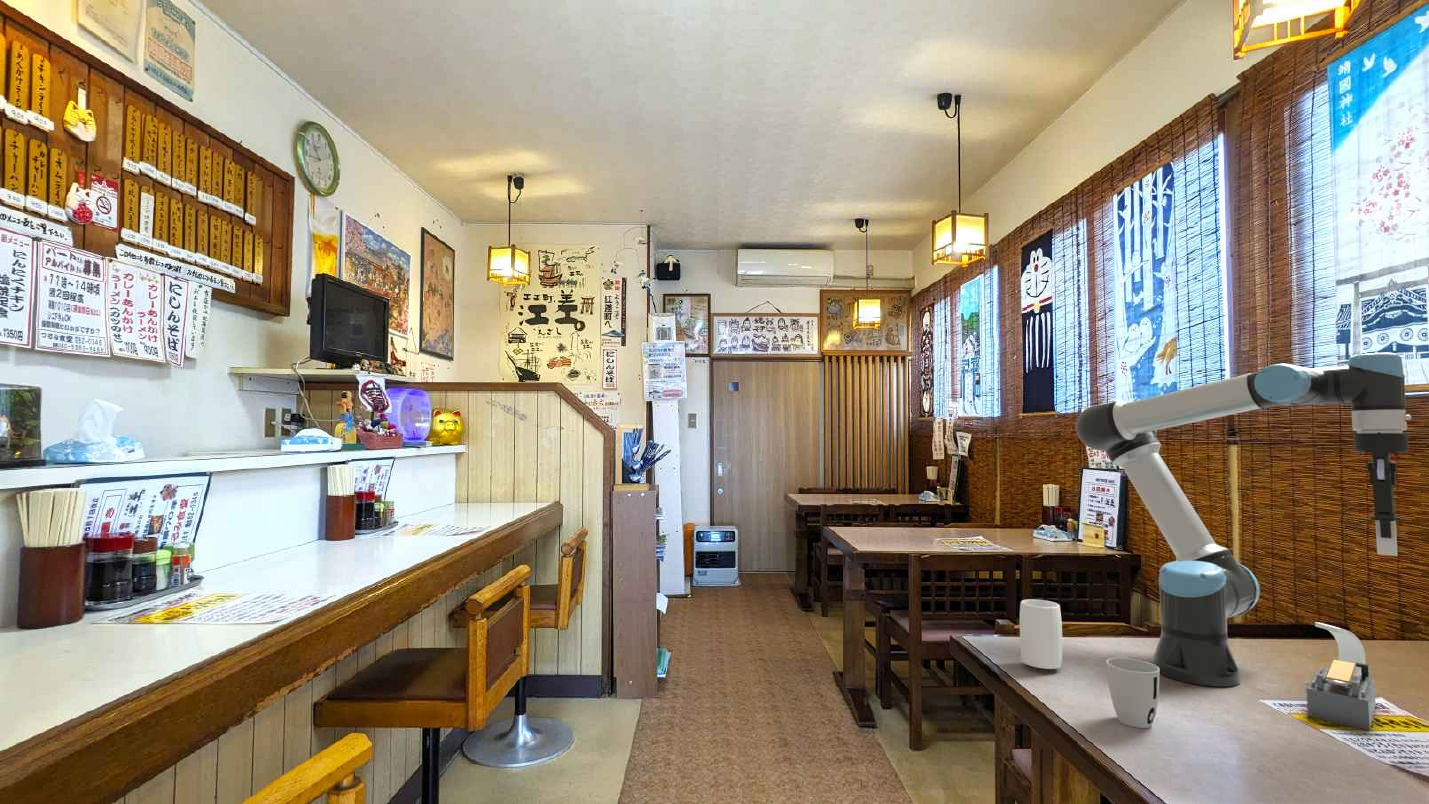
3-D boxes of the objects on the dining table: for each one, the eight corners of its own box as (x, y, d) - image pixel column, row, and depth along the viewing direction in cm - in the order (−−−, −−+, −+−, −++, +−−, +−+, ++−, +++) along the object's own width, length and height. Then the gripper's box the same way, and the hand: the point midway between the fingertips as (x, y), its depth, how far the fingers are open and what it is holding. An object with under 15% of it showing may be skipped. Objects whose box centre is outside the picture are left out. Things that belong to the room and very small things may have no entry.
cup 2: (1162, 735, 112) (1160, 675, 113) (1107, 725, 116) (1105, 667, 117) (1160, 719, 119) (1158, 662, 120) (1108, 709, 123) (1106, 654, 124)
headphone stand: (1318, 680, 139) (1314, 622, 140) (1344, 679, 139) (1340, 621, 140) (1340, 688, 134) (1336, 628, 135) (1367, 687, 135) (1363, 627, 136)
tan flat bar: (1349, 686, 119) (1349, 681, 119) (1326, 682, 121) (1326, 676, 121) (1355, 668, 127) (1354, 663, 127) (1334, 664, 130) (1333, 659, 130)
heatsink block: (1369, 730, 114) (1367, 685, 115) (1308, 716, 120) (1305, 673, 121) (1375, 706, 125) (1373, 665, 126) (1318, 694, 131) (1316, 655, 132)
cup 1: (1053, 678, 140) (1051, 610, 141) (1014, 667, 146) (1012, 602, 147) (1069, 669, 145) (1067, 603, 146) (1030, 659, 152) (1029, 597, 153)
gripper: (1406, 431, 122) (1415, 561, 120) (1408, 432, 130) (1416, 553, 129) (1350, 432, 127) (1357, 556, 126) (1355, 433, 136) (1362, 548, 134)
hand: (1387, 554), depth 127 cm, fingers closed
